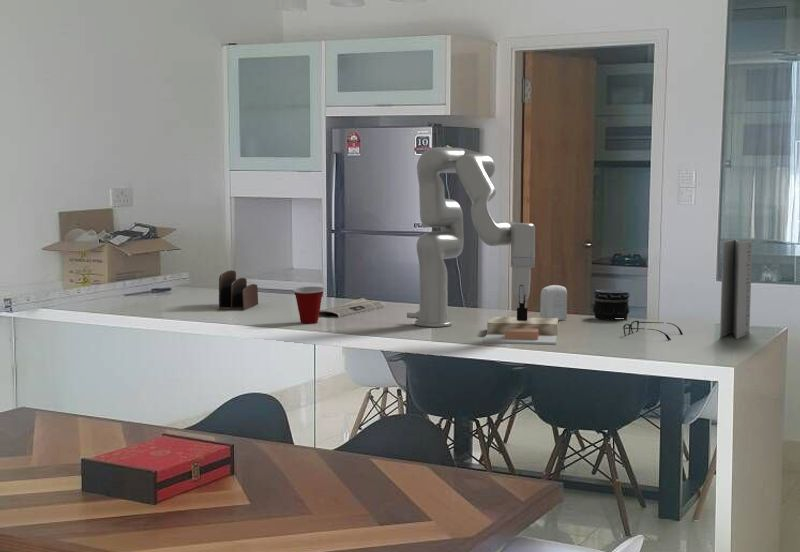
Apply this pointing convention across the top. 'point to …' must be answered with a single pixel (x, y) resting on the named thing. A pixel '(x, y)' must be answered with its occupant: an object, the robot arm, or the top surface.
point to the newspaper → (352, 308)
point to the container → (611, 304)
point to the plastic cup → (309, 303)
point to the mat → (501, 339)
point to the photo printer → (553, 302)
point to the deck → (523, 325)
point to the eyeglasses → (649, 329)
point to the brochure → (736, 288)
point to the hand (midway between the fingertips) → (522, 320)
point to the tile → (522, 333)
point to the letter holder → (236, 292)
